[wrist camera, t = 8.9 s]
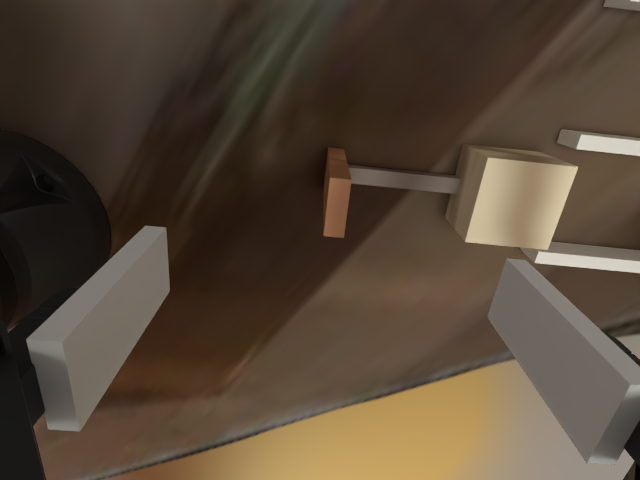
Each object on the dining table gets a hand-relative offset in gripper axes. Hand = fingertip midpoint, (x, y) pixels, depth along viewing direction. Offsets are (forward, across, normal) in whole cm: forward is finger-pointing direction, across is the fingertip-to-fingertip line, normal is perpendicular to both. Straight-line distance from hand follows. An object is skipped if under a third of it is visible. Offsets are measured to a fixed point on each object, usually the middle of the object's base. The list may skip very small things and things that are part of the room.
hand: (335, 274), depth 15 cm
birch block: (+17, +8, 0) cm, 19 cm away
